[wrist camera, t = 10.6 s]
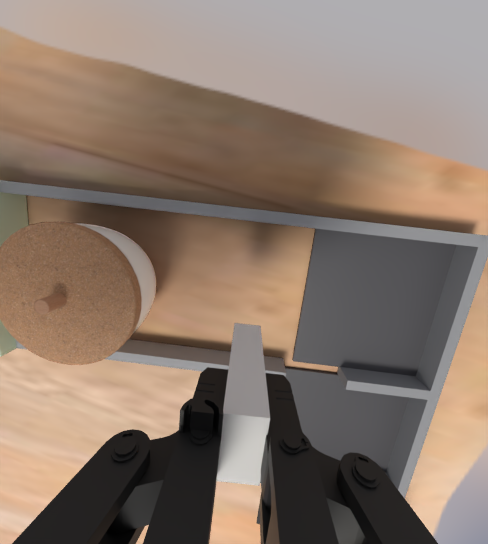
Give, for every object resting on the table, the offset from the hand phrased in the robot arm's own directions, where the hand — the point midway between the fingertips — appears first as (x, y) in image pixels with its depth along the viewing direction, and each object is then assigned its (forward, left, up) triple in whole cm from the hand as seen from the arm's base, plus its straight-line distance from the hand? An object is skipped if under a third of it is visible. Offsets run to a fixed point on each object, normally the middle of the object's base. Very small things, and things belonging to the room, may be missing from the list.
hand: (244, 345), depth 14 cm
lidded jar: (-13, 0, -11) cm, 17 cm away
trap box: (-3, -7, -11) cm, 13 cm away
